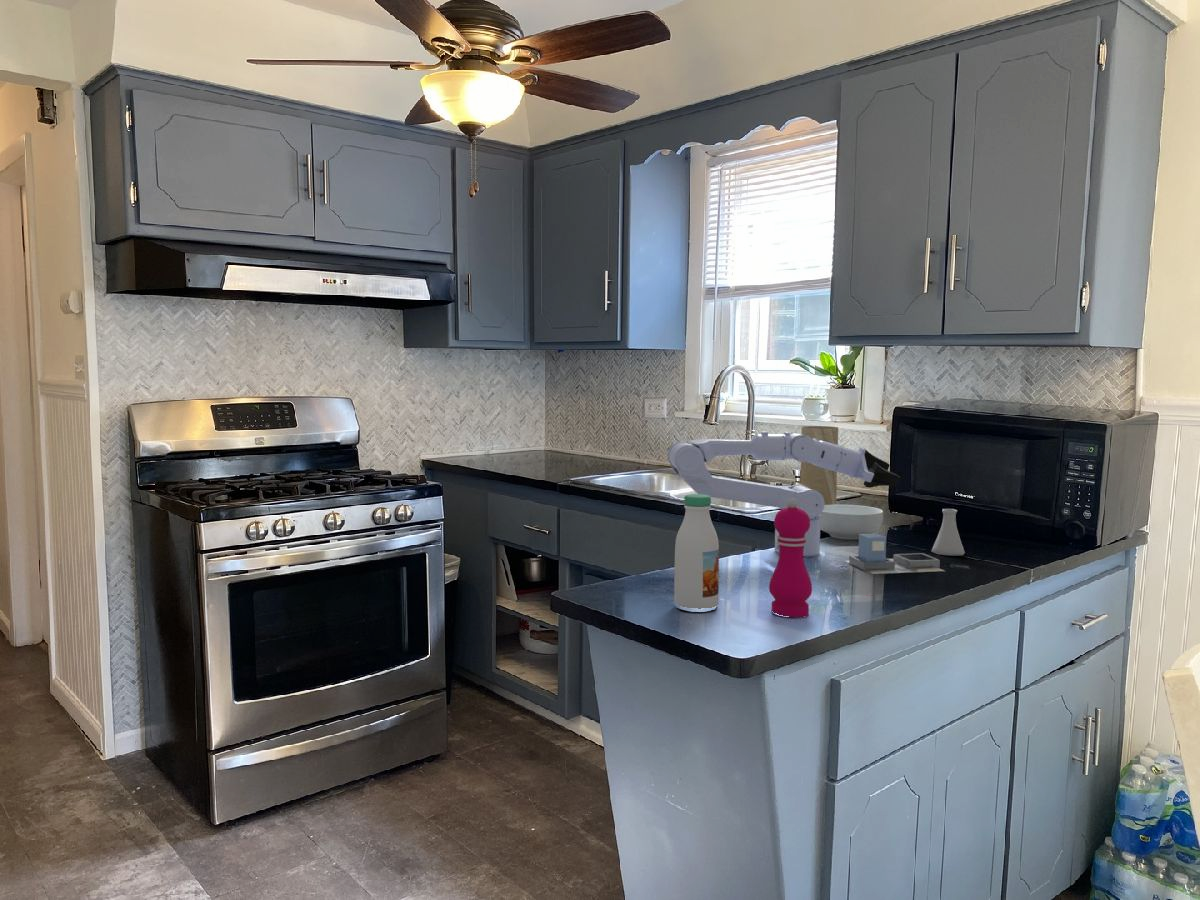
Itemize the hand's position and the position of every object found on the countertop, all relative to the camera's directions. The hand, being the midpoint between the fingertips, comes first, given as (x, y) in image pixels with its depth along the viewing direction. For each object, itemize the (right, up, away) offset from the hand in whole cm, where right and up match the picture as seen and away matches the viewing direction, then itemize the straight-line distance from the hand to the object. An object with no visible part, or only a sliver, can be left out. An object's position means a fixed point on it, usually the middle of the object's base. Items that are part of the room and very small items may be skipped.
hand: (893, 474), depth 198 cm
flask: (+14, -18, +4) cm, 23 cm away
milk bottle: (-48, -22, -41) cm, 67 cm away
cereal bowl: (-4, -16, +23) cm, 29 cm away
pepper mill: (-33, -23, -44) cm, 60 cm away
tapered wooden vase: (-4, -13, +52) cm, 54 cm away
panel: (-4, -19, -13) cm, 24 cm away
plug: (-9, -19, -14) cm, 25 cm away
